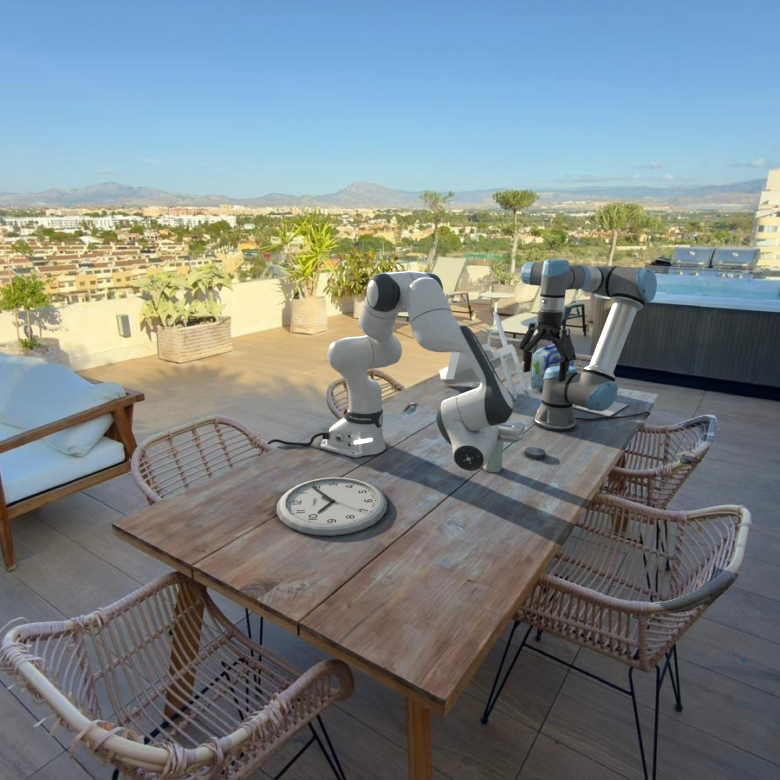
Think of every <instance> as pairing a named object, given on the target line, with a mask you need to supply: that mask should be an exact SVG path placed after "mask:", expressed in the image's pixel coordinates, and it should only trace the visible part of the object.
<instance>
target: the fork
mask: <svg viewBox="0 0 780 780" xmlns="http://www.w3.org/2000/svg"><path fill="white" fill-rule="evenodd" d="M418 398H419V397H418V396H413V397H412V398H411V400H410V402H409V404H408V405H407V406H406V407H405V409H404V410H403V412H405V411H407V410H408V409H410V408H411V406H412V405H416V404H417V402H418Z"/></svg>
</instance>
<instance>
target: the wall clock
mask: <svg viewBox="0 0 780 780" xmlns="http://www.w3.org/2000/svg"><path fill="white" fill-rule="evenodd" d="M387 509H388V500H387V498H386V496H385V494H384V493H383V492H382V491H381V490H380V489H379V488H377V487H376V486H374V485H372V484H371V483H369V482H365V481H362V480H359V479H355V478H349V477H338V476H337V477H335V476H333V477H332V476H331V477H322V478H317V479H312V480H307V481H305V482H302V483H299V484H297V485H295V486H293V487H292V488H290V489H288V490H287V491H286V492H285V493H284V494H283V495H281V496H280V498H279V499H278V502H277V503H276V515H277V517H278V518H279V520H280V521H281V522H282V523H283V524H285V525H286V526H287V527H288V528H290V529H293V530H295V531H297V532H299V533H303V534H308V535H312V536H327V537H328V536H329V537H331V536H332V537H333V536H342V535H350V534H352V533H356V532H361V531H363V530H366V529H368V528H369V527H372V526H373V525H375V524H376V523H378V522H379V521H380V520H381V519H382V518H383V517H384V516H385V514H386V512H387Z"/></svg>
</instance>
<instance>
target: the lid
mask: <svg viewBox="0 0 780 780" xmlns="http://www.w3.org/2000/svg"><path fill="white" fill-rule="evenodd" d="M524 455H525V457H526V458H529V459H532V460H543V459H544V458H545V457H546V451H545V450H544V449H543V448H540V447H536V446H529V447H526V448H525V450H524Z"/></svg>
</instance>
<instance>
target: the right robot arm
mask: <svg viewBox="0 0 780 780" xmlns="http://www.w3.org/2000/svg"><path fill="white" fill-rule="evenodd" d="M520 279H521V281H522V283H523V284H524V285H530V286H537V287H538V286H539V287H540V293H539V300H538V301H539V302H538V309H539V310H538V312H537V321H536V322H530V323H529V324H528V328H527V330H526V333H525V334H524V336H523V338H522V340H521V341H520V343H519V345H518V349H519V350H521V351H522V352H523V353H522V362H523V369H522V371H523V373H528V372H531V371H532V361H533V352H532V349H533V348H534V347H536V346H537V344H538V343H539V342H540V341H541V340H542V341H544V340H545V341H548V342H551V343H552V344H554V345H555V346H556V348H557V350H558V352H559V354H560V356H561V358H562V360H563V361H560V366H554V367H550V368H547V369H546V371H545V374H544V378H543V379H544V382H543V390H541V391H542V394H541V402H540V405H539V407H538V408H537V411H536V413H535V416H534V424H535V425H536V426H537V427H539V428H542V429H544V430H549V431H556V432H567V431H572V430H574V429H575V428H576V420H577V421H578V420H579V421H598V420H602V419H603V420H605V419H625V418H631V417H638V416H641V415H645V414H648V416H651V415H652V414H651V413H650V412H649V411H643V412H639V413H633V414H627V415H617V416H616V415H611V416H599V417H591V418H589V417H588V418H587V417H576V416H575V413H574V407H573V405H574V406H581V407H584V408H587V409H589V410H595V411H604V410H606V409H607V408H609V407H610V406H611V405H612V403H613V402H615V400H616V398H617V396H618V390H619V386H618V384H617V382H616V379H617V378H616V376H615V374H614V372H615V369H616V368H617V367H616V366H617V365H618V361H619V359H620V356H621V354H622V352H623V351H622V350H623V348H624V345H625V343H626V340H627V338H628V336H629V333H630V330H631V328H632V325H633V322H634V319H635V317H636V314H637V312H639V311H641V310H643V309H644V306H645V303H648V304H649V303H650V302H652V301H653V300H654V299H655V296H656V293H657V288H658V280H657V276H656V273H655V271H654V270H653V269H651V268H646V267H641V266H639V267H635V266H620V265H618V266H617V265H603V266H593V265H591V266H590V265H589V266H586V265H583V264H570V262H569V260H567V259H562V258H561V259H559V258H548V259H545V260H544V261H543V262H537V261H534V262H533V261H528V262H525V264H524V265H523V266H522V268H521V272H520ZM569 290H581V291H582V292H584V293H588V294H589V293H590V294H594V295H597V296H600V297H601V296H602V297H605V298H609V301H610V303H611V307H610V310H609V313H608V316H607V318H606V320H605V323H604V326H603V328H602V331H601V334H600V336H599V338H598V341H597V343H596V346H595V349H594V351H593V354H592V357H591V359H590V362H589V365H587V366H584V367H583V369H582V370H581V373H578V368H577V367H576V366H573V367H572V366H569V364H570V361H573V360H574V361H576V360H577V355H576V351H575V352H574V349H575V347H574V348H573V346H574V345H573V342H572V338H571V329H570V328H562V324H563V319H564V312H563V311H564V310H565V303H566V293H567V291H569ZM535 332H537V333H536V334H535ZM534 334H535V335H534Z"/></svg>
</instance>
